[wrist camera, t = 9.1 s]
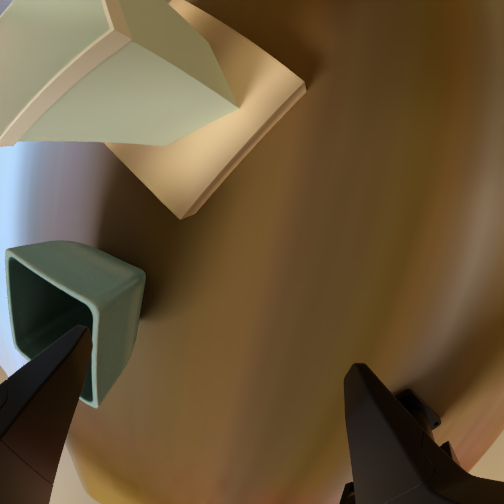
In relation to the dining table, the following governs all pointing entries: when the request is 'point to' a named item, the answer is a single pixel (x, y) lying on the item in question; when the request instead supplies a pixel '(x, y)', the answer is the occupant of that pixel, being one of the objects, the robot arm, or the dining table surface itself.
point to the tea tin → (105, 73)
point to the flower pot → (75, 305)
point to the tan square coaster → (221, 130)
